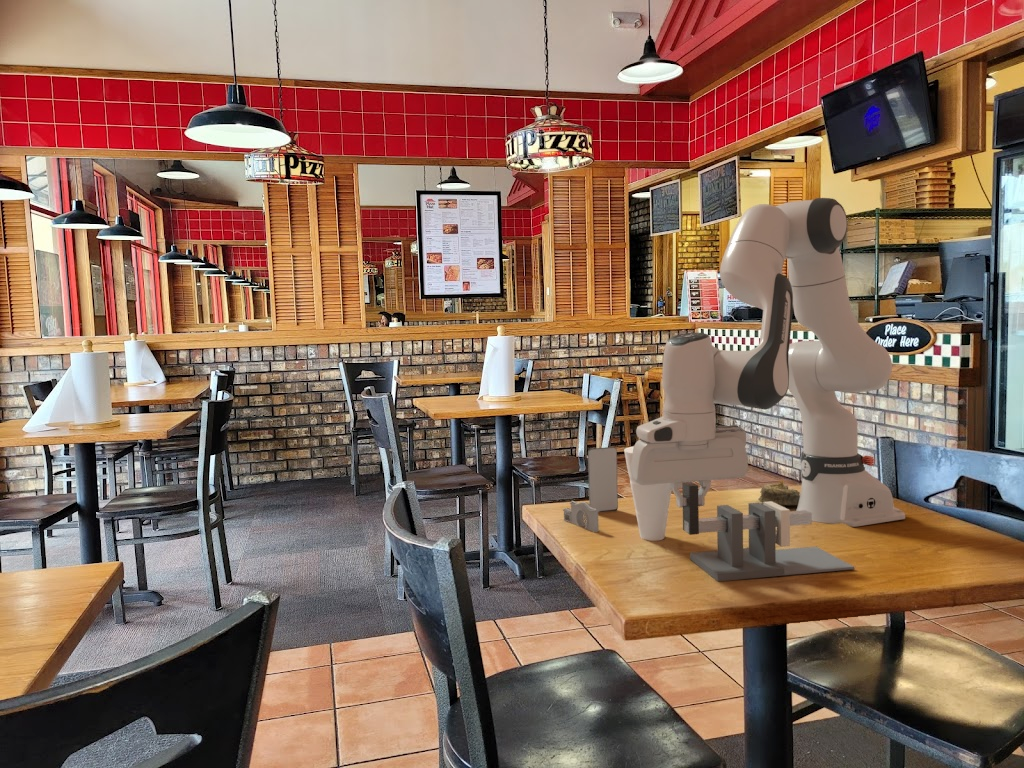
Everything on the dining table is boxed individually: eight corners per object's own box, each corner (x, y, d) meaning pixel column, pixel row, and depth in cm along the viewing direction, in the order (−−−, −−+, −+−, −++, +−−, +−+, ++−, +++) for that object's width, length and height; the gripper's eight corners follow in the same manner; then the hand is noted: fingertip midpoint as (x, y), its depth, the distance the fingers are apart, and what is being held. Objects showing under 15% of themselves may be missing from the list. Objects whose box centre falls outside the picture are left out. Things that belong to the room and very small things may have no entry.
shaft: (803, 520, 136) (803, 474, 135) (813, 524, 133) (813, 477, 132) (682, 529, 133) (682, 482, 132) (689, 534, 129) (689, 486, 129)
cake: (772, 509, 171) (772, 486, 171) (750, 499, 181) (750, 477, 181) (811, 506, 173) (811, 483, 173) (787, 496, 183) (787, 474, 183)
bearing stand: (751, 554, 140) (751, 498, 139) (784, 575, 128) (784, 515, 127) (690, 559, 138) (689, 503, 137) (717, 581, 126) (717, 520, 125)
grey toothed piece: (562, 522, 167) (561, 495, 166) (569, 520, 167) (568, 494, 167) (594, 534, 156) (593, 506, 156) (601, 533, 157) (600, 505, 156)
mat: (816, 548, 142) (816, 546, 142) (854, 569, 130) (854, 566, 130) (751, 554, 140) (751, 551, 140) (784, 575, 128) (784, 573, 128)
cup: (626, 529, 159) (624, 445, 157) (677, 530, 157) (676, 445, 155) (625, 544, 148) (623, 454, 147) (680, 545, 146) (679, 454, 145)
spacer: (771, 535, 137) (771, 501, 136) (789, 545, 131) (789, 509, 130) (763, 536, 137) (763, 501, 136) (781, 546, 130) (781, 510, 130)
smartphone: (590, 513, 172) (588, 449, 171) (589, 513, 173) (587, 448, 172) (618, 510, 174) (616, 446, 173) (617, 510, 175) (615, 446, 173)
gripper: (737, 421, 134) (738, 497, 135) (627, 428, 131) (629, 505, 132) (754, 426, 128) (754, 506, 129) (639, 433, 125) (640, 514, 126)
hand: (690, 506), depth 131 cm, fingers closed on shaft, 2 cm apart
